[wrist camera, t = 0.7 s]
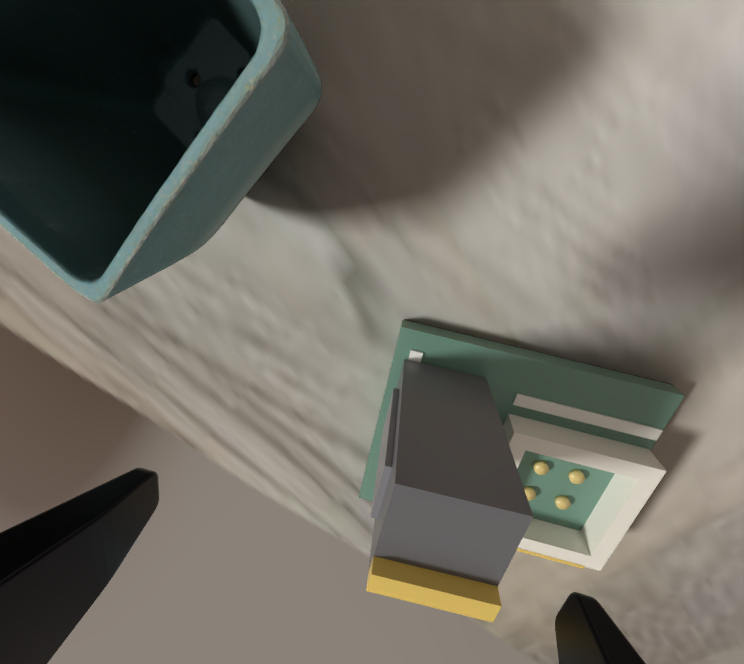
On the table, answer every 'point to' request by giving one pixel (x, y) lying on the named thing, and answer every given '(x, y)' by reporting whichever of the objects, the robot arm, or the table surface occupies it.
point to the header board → (556, 437)
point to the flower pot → (140, 126)
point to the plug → (445, 495)
